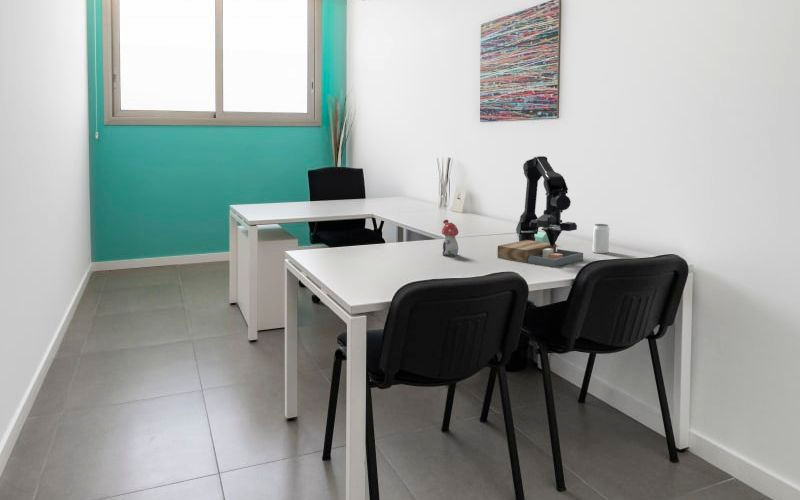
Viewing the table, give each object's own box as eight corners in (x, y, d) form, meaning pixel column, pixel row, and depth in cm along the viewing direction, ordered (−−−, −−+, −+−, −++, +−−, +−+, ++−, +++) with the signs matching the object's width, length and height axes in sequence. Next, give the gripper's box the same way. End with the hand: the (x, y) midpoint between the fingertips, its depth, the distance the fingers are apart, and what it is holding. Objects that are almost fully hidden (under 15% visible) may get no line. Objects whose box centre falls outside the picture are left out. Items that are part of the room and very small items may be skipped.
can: (609, 253, 260) (610, 226, 257) (593, 253, 261) (594, 225, 259) (607, 251, 266) (608, 223, 264) (591, 250, 267) (592, 223, 265)
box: (527, 262, 244) (527, 255, 243) (556, 255, 257) (556, 248, 256) (554, 267, 234) (554, 259, 234) (582, 260, 247) (583, 252, 247)
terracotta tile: (556, 255, 242) (556, 261, 243) (562, 254, 245) (562, 260, 245) (548, 254, 245) (548, 260, 246) (554, 252, 248) (554, 258, 248)
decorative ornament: (440, 253, 266) (440, 219, 263) (454, 252, 267) (454, 218, 264) (445, 257, 257) (445, 222, 254) (460, 256, 258) (460, 221, 255)
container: (516, 225, 304) (544, 231, 281) (526, 229, 306) (554, 235, 283) (512, 236, 304) (540, 243, 281) (522, 240, 306) (550, 247, 283)
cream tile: (542, 249, 247) (548, 250, 246) (548, 248, 250) (553, 248, 248) (542, 259, 248) (547, 259, 246) (547, 257, 251) (553, 258, 249)
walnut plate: (497, 257, 255) (497, 245, 254) (526, 251, 268) (526, 239, 267) (526, 262, 244) (527, 250, 243) (555, 255, 257) (556, 244, 256)
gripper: (522, 207, 244) (521, 245, 247) (562, 211, 231) (560, 251, 234) (538, 205, 252) (537, 242, 255) (578, 208, 238) (576, 247, 241)
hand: (552, 246), depth 246 cm, fingers closed
